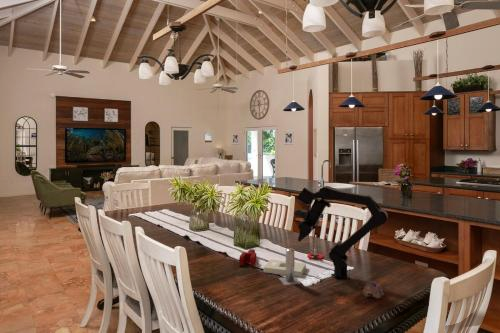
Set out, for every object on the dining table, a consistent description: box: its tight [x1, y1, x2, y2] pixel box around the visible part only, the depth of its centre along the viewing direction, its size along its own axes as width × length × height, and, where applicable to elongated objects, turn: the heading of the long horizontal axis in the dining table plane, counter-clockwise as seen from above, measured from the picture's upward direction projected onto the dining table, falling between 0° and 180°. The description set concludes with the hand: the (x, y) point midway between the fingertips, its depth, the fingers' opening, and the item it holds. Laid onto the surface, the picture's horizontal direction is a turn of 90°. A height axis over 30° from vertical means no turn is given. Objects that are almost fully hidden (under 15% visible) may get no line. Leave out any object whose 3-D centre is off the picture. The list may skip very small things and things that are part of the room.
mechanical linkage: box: [238, 248, 257, 267], centre depth 182 cm, size 16×7×5 cm, turn 167°
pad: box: [278, 276, 302, 286], centre depth 157 cm, size 8×8×1 cm
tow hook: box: [306, 234, 324, 261], centre depth 189 cm, size 8×13×9 cm
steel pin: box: [285, 247, 296, 282], centre depth 156 cm, size 4×4×14 cm
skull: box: [362, 282, 385, 299], centre depth 141 cm, size 12×8×6 cm, turn 133°
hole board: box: [263, 258, 307, 278], centre depth 170 cm, size 18×12×3 cm, turn 71°
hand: (301, 238), depth 167 cm, fingers open, 9 cm apart
